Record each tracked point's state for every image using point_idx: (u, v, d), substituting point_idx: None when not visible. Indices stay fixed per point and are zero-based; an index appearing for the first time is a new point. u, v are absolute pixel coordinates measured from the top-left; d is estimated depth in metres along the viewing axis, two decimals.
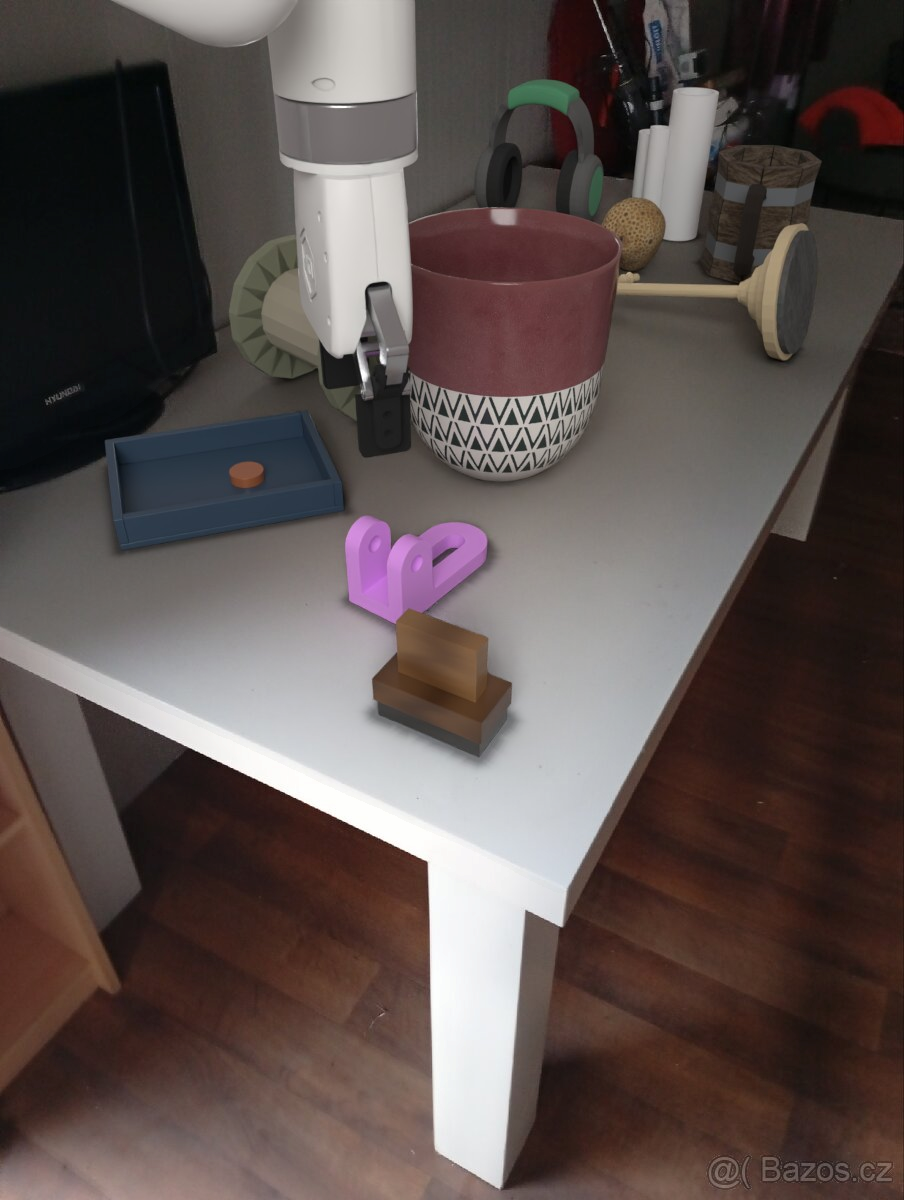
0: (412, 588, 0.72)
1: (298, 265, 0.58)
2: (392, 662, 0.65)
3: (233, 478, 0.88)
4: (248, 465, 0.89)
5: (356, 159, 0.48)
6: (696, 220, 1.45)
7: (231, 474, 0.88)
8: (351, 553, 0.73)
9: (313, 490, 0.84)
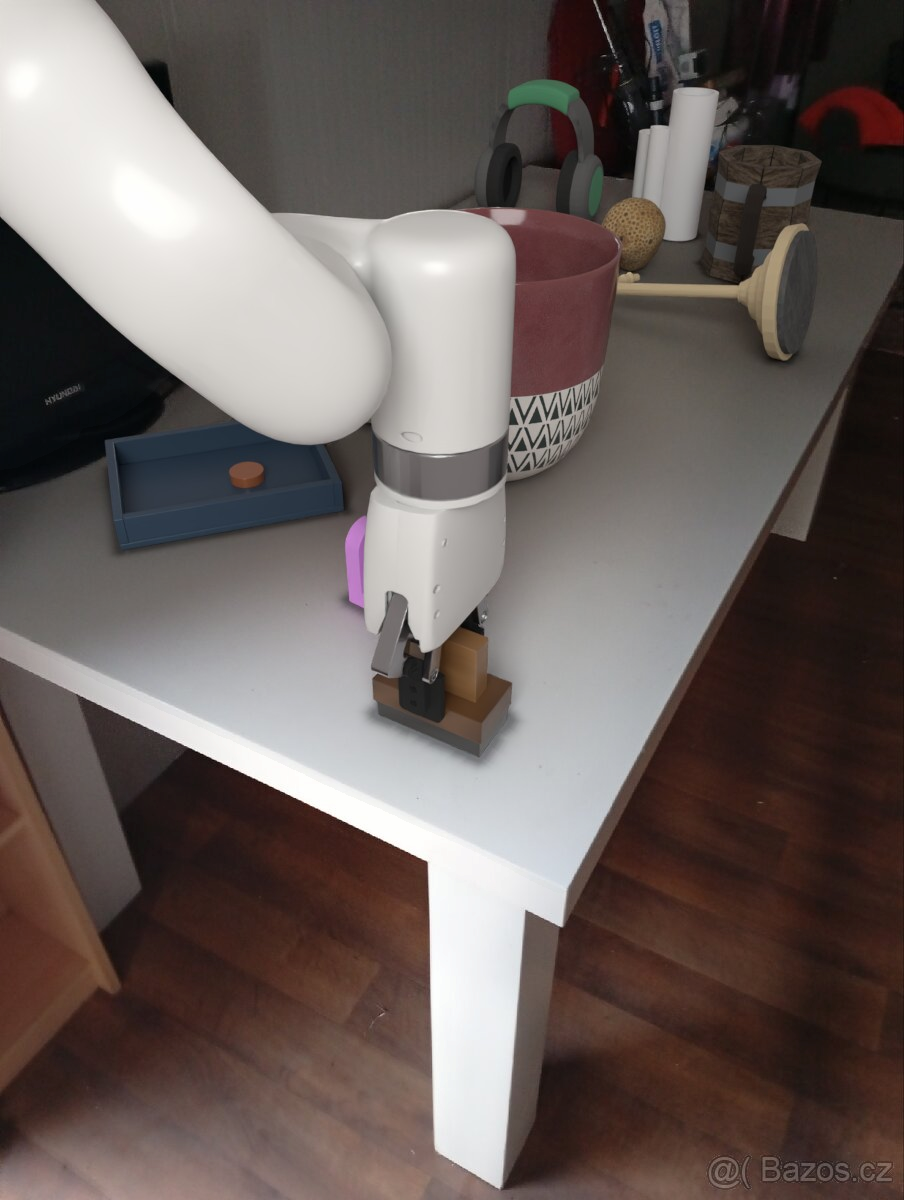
0: None
1: None
2: None
3: (233, 478, 0.88)
4: (248, 465, 0.89)
5: (397, 489, 0.51)
6: (696, 220, 1.45)
7: (231, 474, 0.88)
8: (351, 553, 0.73)
9: (313, 490, 0.84)
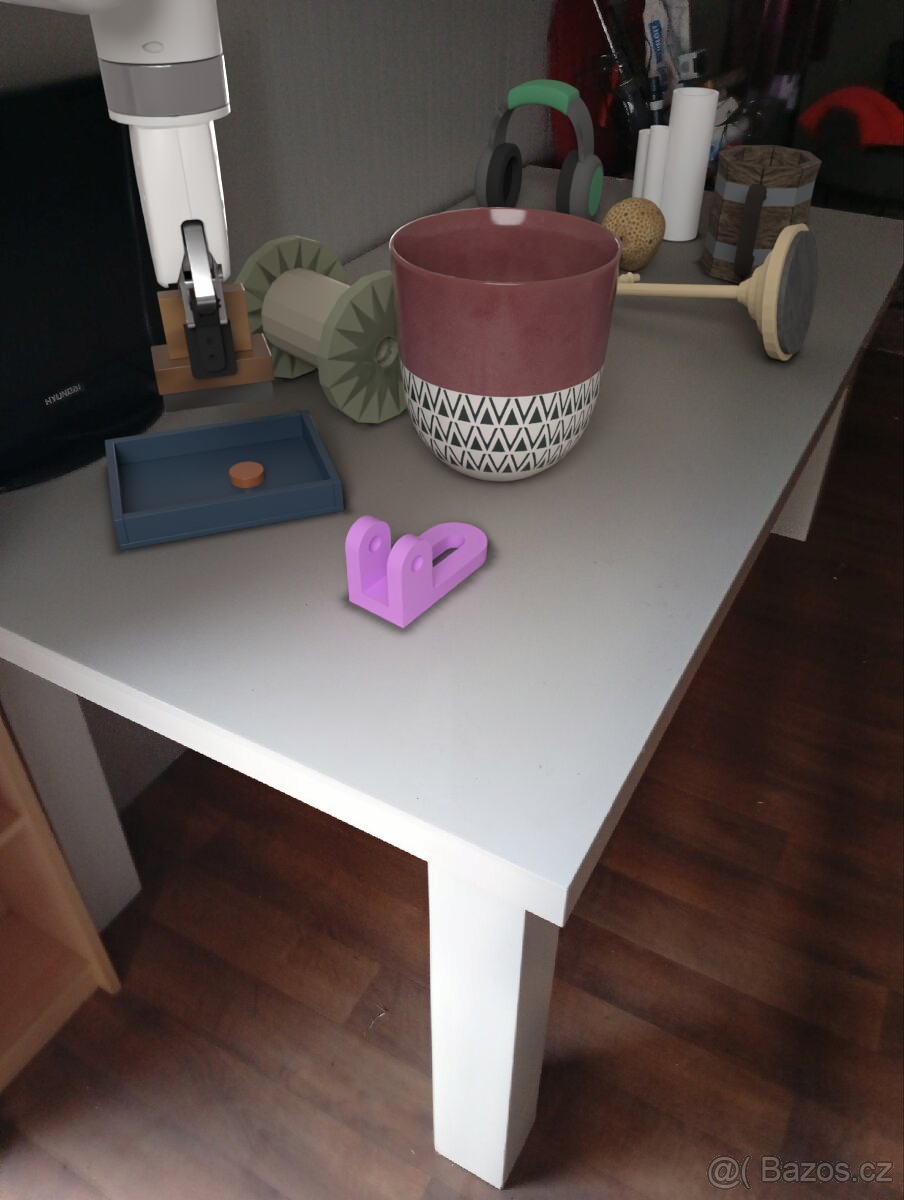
0: (412, 588, 0.72)
1: None
2: (157, 357, 0.69)
3: (233, 478, 0.88)
4: (248, 465, 0.89)
5: (164, 112, 0.57)
6: (696, 220, 1.45)
7: (231, 474, 0.88)
8: (351, 553, 0.73)
9: (313, 490, 0.84)
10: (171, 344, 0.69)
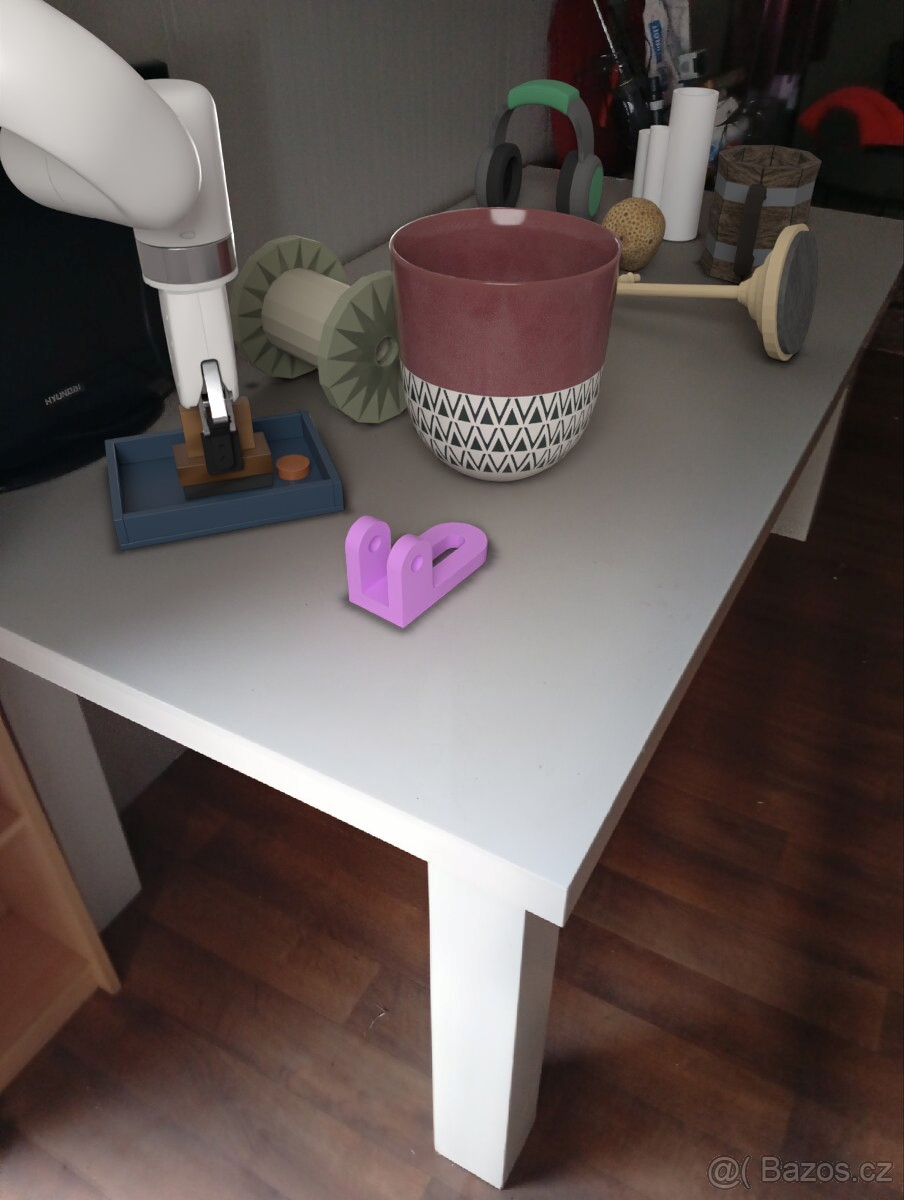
0: (412, 588, 0.72)
1: None
2: (178, 456, 0.86)
3: (280, 471, 0.89)
4: (294, 458, 0.90)
5: (188, 281, 0.73)
6: (696, 220, 1.45)
7: (278, 467, 0.89)
8: (351, 553, 0.73)
9: (313, 490, 0.84)
10: (190, 446, 0.85)
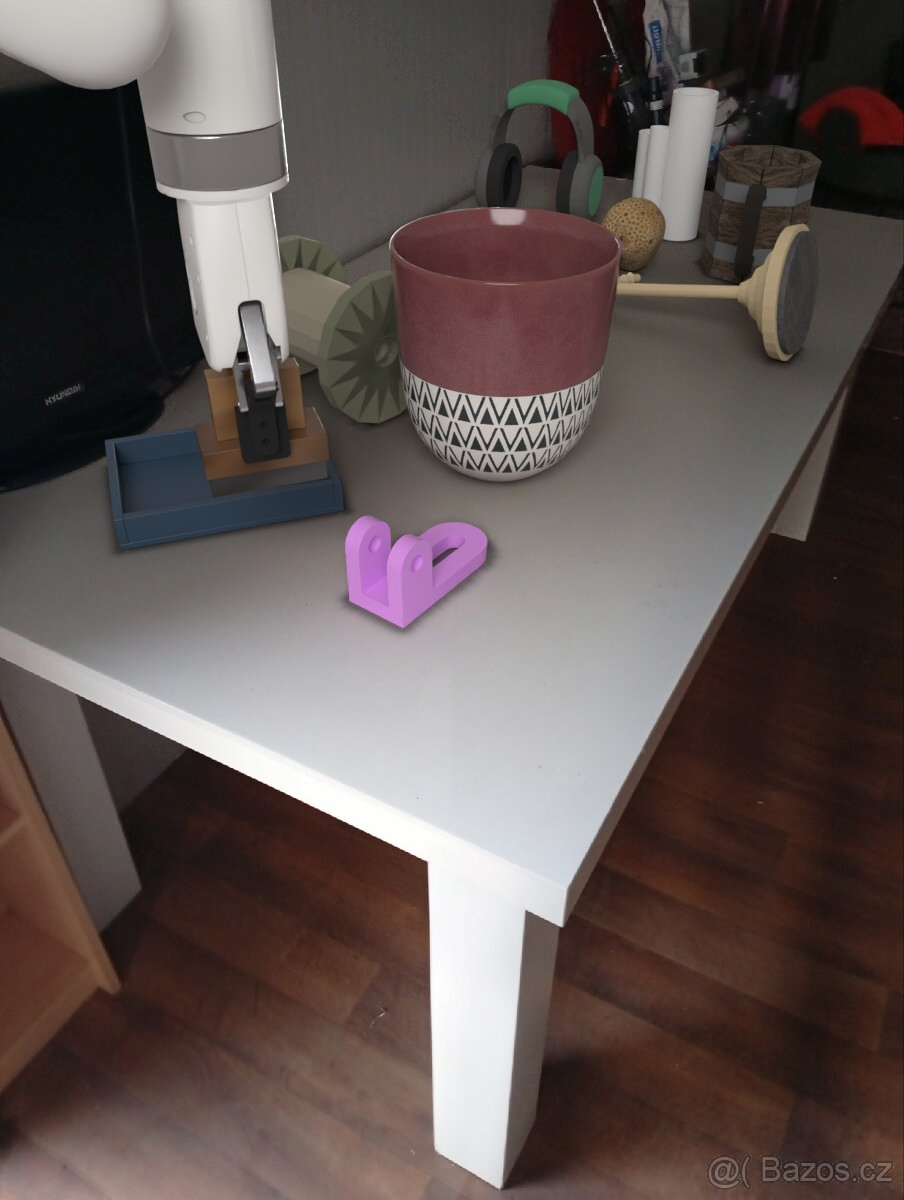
0: (412, 588, 0.72)
1: None
2: (203, 439, 0.64)
3: None
4: None
5: (222, 186, 0.52)
6: (696, 220, 1.45)
7: None
8: (351, 553, 0.73)
9: (313, 490, 0.84)
10: (219, 425, 0.63)
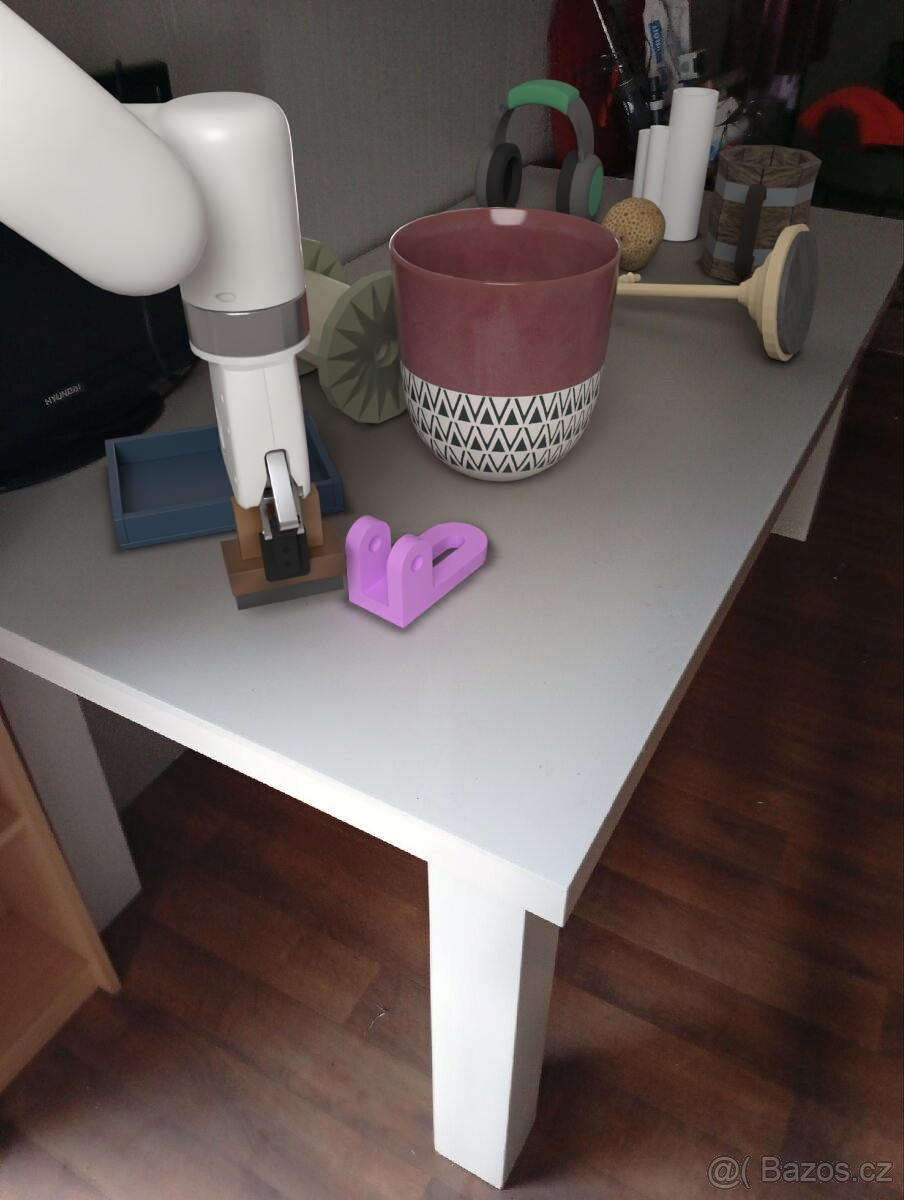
0: (412, 588, 0.72)
1: None
2: (229, 557, 0.69)
3: None
4: None
5: (251, 353, 0.57)
6: (696, 220, 1.45)
7: None
8: (351, 553, 0.73)
9: None
10: (244, 546, 0.68)
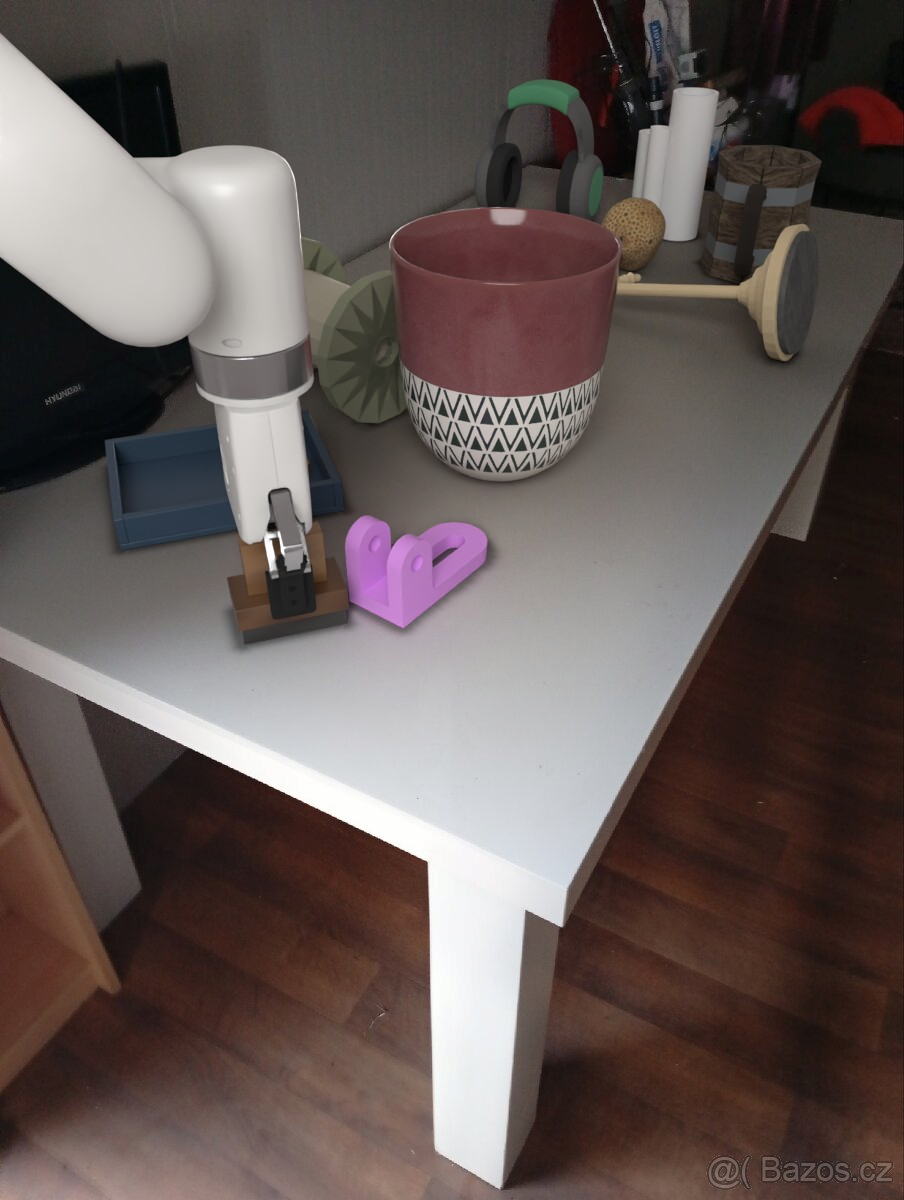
0: (412, 588, 0.72)
1: None
2: (235, 594, 0.71)
3: None
4: None
5: (256, 396, 0.58)
6: (696, 220, 1.45)
7: None
8: (351, 553, 0.73)
9: (313, 490, 0.84)
10: (250, 583, 0.70)
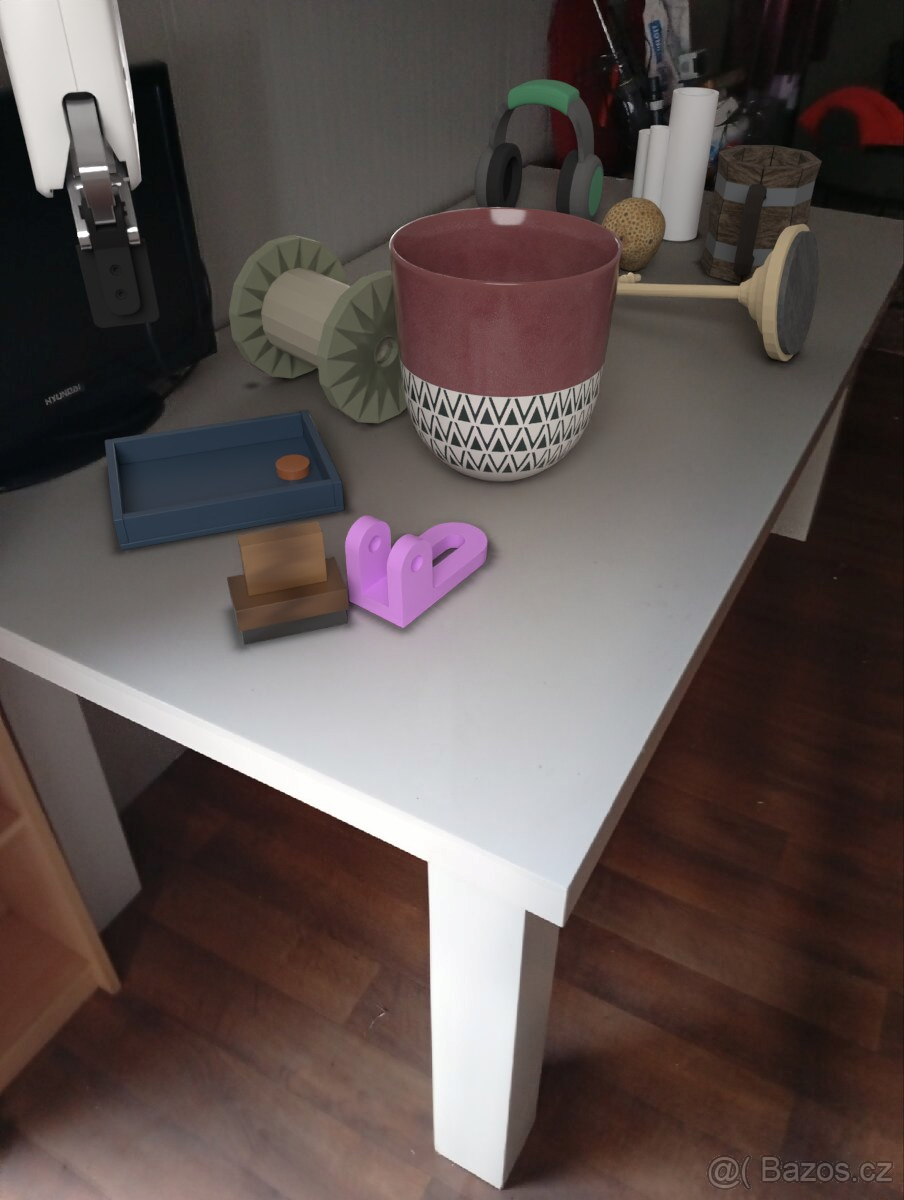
0: (412, 588, 0.72)
1: None
2: (235, 594, 0.71)
3: (280, 471, 0.89)
4: (294, 458, 0.90)
5: None
6: (696, 220, 1.45)
7: (278, 467, 0.89)
8: (351, 553, 0.73)
9: (313, 490, 0.84)
10: (250, 583, 0.70)
